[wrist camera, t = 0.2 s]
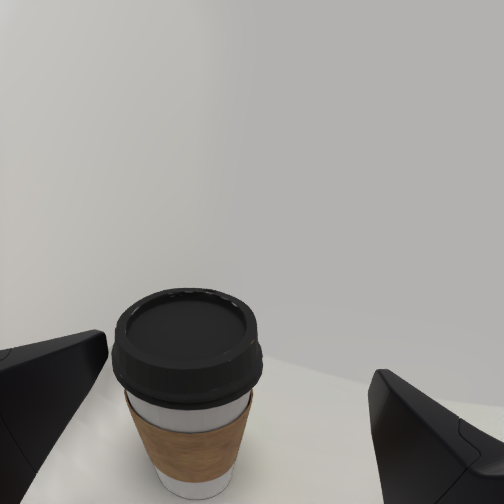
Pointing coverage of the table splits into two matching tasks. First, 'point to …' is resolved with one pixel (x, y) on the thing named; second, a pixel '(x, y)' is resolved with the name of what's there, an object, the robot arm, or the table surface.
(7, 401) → the robot arm
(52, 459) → the table surface
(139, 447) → the table surface
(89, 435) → the table surface
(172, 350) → the coffee cup
